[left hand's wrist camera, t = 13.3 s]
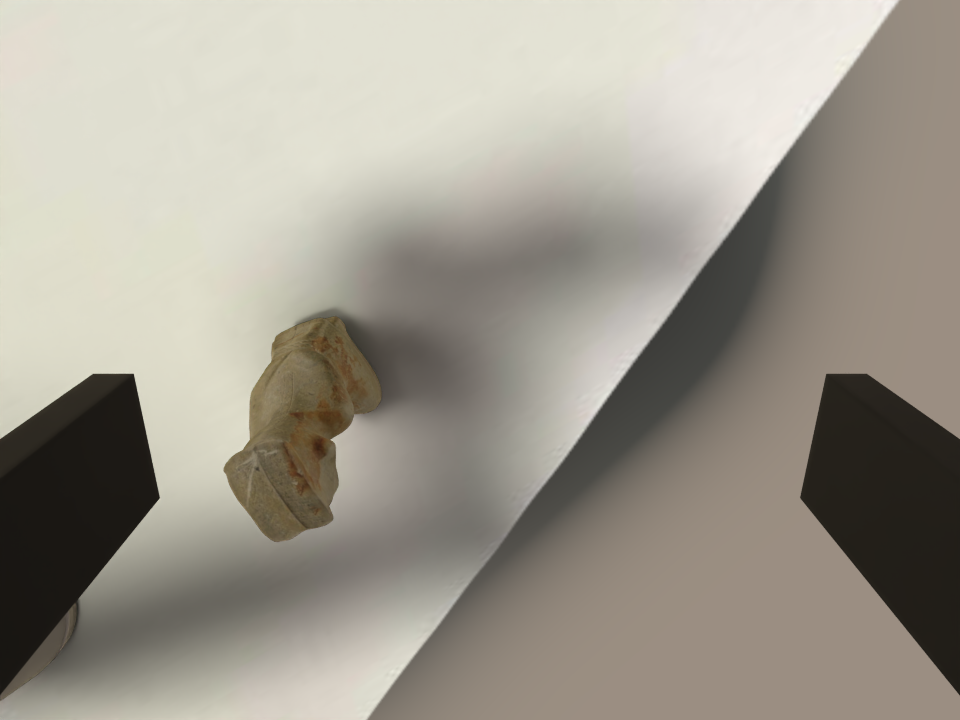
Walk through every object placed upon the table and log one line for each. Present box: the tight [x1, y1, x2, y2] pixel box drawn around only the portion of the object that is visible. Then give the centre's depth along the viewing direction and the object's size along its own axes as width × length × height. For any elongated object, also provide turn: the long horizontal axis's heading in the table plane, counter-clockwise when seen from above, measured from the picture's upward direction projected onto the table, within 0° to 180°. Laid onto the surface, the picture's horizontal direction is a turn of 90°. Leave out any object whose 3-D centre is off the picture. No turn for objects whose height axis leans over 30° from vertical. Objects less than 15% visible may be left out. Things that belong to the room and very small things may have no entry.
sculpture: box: [224, 316, 382, 542], centre depth 36 cm, size 6×7×15 cm
